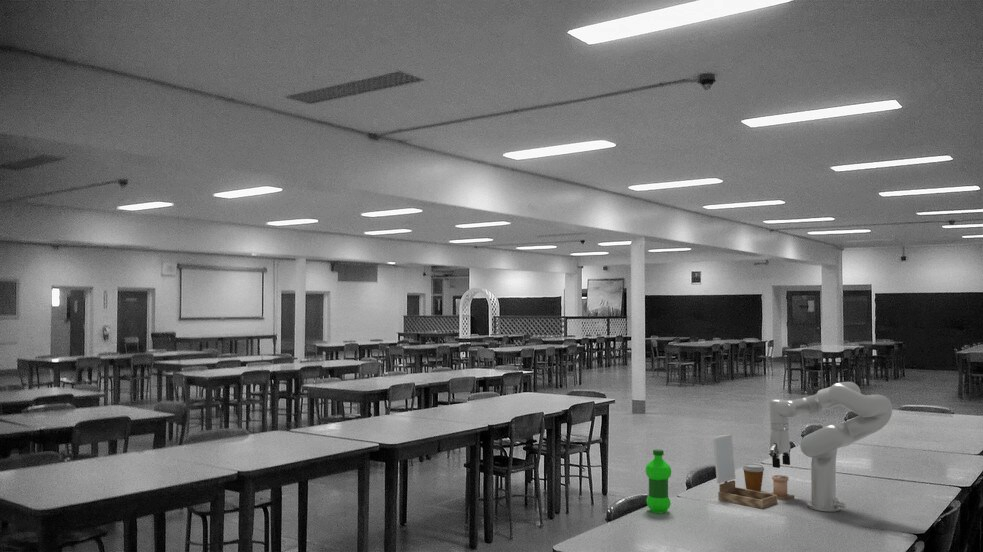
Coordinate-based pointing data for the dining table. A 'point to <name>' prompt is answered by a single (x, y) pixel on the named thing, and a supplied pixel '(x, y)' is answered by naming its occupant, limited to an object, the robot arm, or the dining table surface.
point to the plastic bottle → (658, 483)
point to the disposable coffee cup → (753, 476)
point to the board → (785, 497)
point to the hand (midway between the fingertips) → (781, 466)
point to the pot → (780, 485)
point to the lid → (724, 458)
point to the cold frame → (745, 496)
